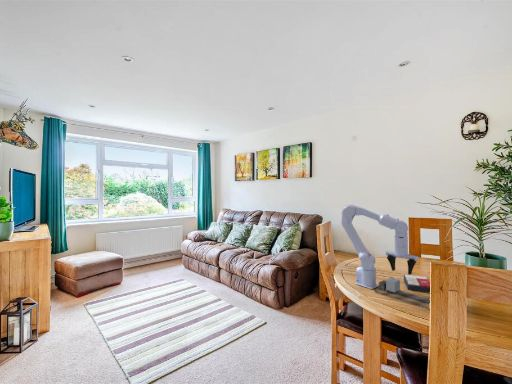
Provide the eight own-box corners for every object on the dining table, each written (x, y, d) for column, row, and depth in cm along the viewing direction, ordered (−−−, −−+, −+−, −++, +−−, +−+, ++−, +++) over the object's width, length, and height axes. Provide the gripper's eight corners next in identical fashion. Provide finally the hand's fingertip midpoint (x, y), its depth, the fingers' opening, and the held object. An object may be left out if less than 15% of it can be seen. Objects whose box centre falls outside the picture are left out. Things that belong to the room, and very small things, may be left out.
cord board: (374, 292, 121) (374, 283, 121) (384, 287, 127) (384, 278, 127) (434, 311, 101) (434, 300, 101) (442, 304, 107) (442, 294, 107)
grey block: (386, 289, 118) (386, 279, 119) (391, 287, 122) (391, 277, 122) (394, 292, 115) (394, 282, 115) (400, 289, 119) (399, 279, 119)
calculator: (407, 283, 123) (403, 273, 137) (407, 291, 123) (403, 280, 137) (434, 286, 119) (426, 275, 132) (434, 295, 119) (426, 283, 132)
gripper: (382, 243, 126) (382, 270, 125) (414, 248, 114) (414, 277, 114) (389, 242, 130) (389, 267, 130) (420, 246, 118) (420, 274, 118)
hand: (401, 272), depth 122 cm, fingers open, 7 cm apart
